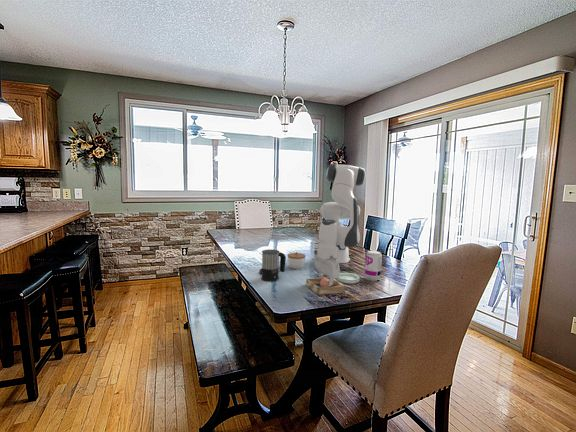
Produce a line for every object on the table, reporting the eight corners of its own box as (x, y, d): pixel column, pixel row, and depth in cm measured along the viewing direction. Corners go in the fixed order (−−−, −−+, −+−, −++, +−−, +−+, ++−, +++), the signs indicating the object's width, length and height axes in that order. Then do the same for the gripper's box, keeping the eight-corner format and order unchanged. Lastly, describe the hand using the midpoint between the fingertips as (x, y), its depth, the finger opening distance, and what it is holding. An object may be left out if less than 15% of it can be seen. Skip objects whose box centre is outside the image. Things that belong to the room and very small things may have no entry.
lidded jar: (298, 271, 172) (298, 255, 171) (283, 267, 178) (284, 252, 177) (308, 267, 180) (309, 252, 179) (294, 264, 187) (294, 249, 186)
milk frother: (271, 283, 150) (272, 254, 148) (247, 276, 159) (248, 249, 157) (287, 276, 161) (288, 249, 160) (265, 270, 170) (265, 245, 169)
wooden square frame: (306, 284, 149) (306, 278, 149) (331, 282, 154) (331, 276, 153) (318, 294, 136) (318, 288, 136) (344, 292, 141) (345, 286, 140)
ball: (318, 287, 146) (318, 277, 146) (327, 286, 148) (327, 276, 148) (322, 290, 142) (323, 280, 141) (332, 289, 143) (332, 279, 143)
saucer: (332, 277, 163) (332, 273, 163) (351, 275, 167) (351, 272, 167) (343, 284, 152) (343, 280, 151) (363, 282, 156) (364, 278, 155)
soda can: (369, 282, 157) (371, 254, 155) (361, 277, 165) (363, 250, 163) (383, 281, 159) (385, 253, 158) (374, 276, 167) (376, 250, 165)
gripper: (343, 258, 134) (342, 288, 136) (323, 249, 153) (322, 275, 155) (331, 259, 132) (329, 289, 133) (312, 249, 151) (311, 276, 153)
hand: (325, 281), depth 144 cm, fingers open, 8 cm apart
